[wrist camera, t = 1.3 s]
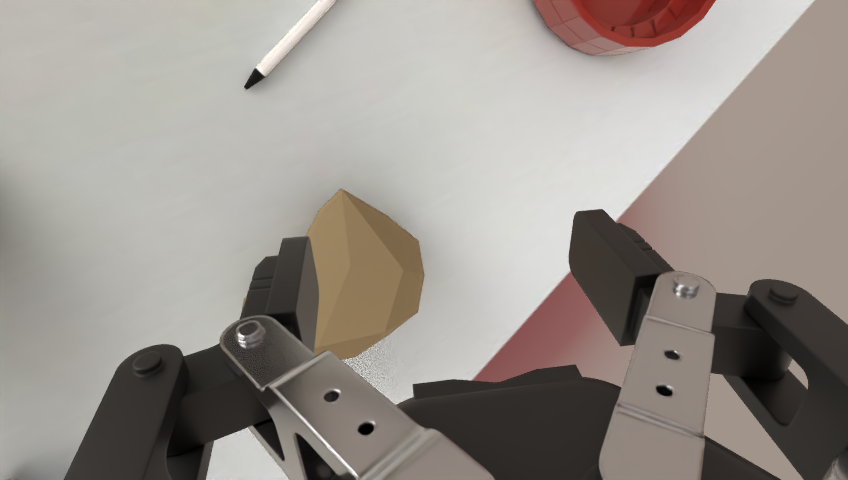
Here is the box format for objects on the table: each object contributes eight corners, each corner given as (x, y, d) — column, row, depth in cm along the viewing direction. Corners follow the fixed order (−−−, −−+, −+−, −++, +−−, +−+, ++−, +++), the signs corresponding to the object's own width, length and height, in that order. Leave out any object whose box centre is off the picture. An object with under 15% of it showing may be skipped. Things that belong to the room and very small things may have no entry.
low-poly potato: (412, 176, 40) (281, 137, 32) (488, 261, 33) (345, 237, 25) (333, 312, 46) (205, 307, 38) (385, 409, 39) (241, 427, 31)
